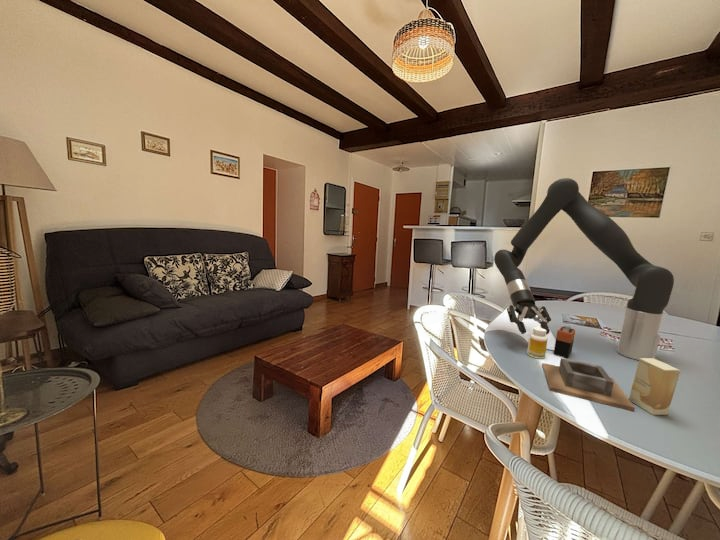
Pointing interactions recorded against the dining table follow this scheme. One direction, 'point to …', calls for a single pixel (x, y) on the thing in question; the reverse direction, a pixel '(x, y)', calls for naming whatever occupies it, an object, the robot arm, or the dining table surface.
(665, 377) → the skincare box
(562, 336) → the battery
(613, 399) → the walnut holder board
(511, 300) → the robot arm
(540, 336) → the supplement bottle
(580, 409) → the dining table surface
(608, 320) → the dining table surface
